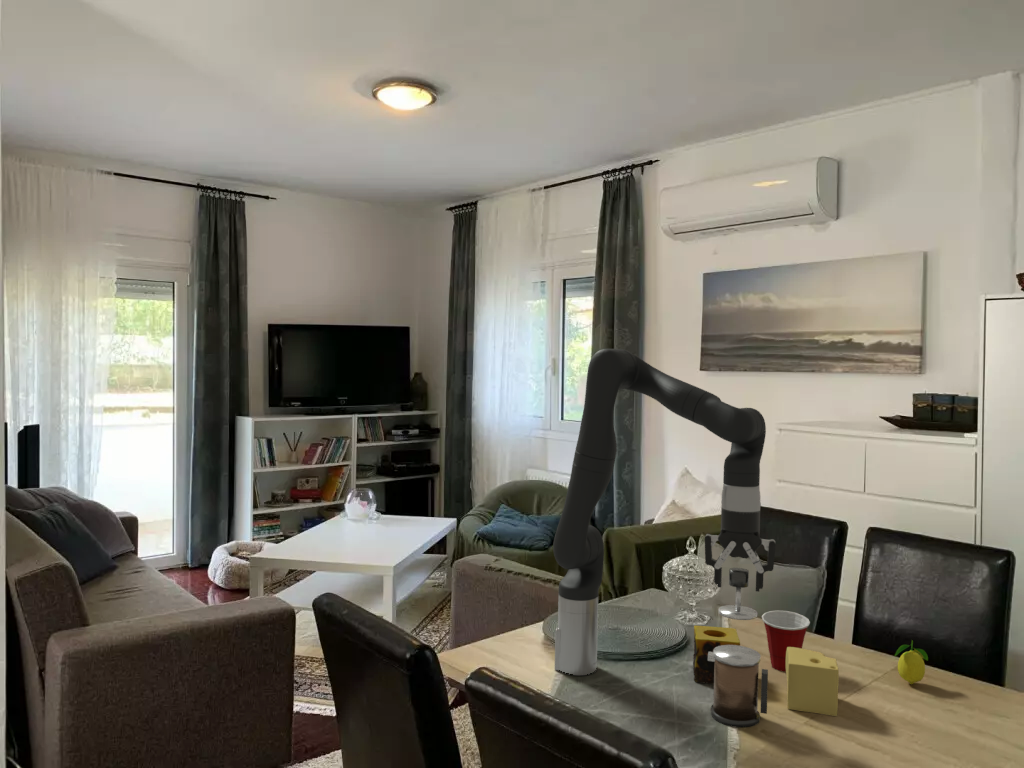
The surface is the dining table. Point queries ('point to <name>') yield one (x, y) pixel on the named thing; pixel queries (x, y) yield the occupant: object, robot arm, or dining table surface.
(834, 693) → the cheese
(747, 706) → the carafe
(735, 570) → the plunger
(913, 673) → the lemon
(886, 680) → the dining table surface
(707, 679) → the yellow patterned cube
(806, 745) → the dining table surface
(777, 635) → the plastic cup
